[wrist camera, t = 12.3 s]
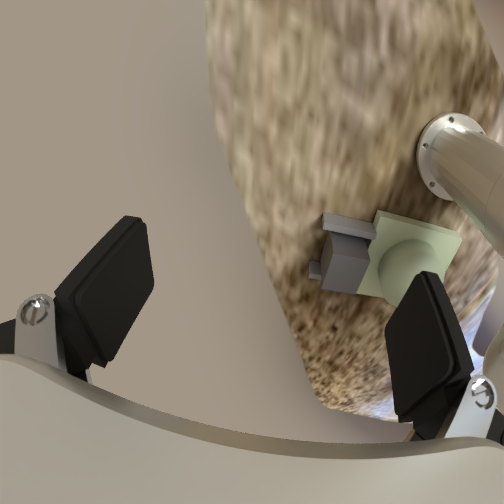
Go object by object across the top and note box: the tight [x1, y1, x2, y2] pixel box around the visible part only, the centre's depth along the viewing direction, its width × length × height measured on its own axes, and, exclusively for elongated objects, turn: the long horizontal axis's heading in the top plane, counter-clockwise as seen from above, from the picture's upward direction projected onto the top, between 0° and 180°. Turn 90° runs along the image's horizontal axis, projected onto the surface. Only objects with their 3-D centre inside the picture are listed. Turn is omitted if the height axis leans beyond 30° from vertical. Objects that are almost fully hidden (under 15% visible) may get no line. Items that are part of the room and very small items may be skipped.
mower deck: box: [308, 210, 463, 307], centre depth 38 cm, size 22×14×6 cm, turn 84°
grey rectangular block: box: [320, 231, 371, 295], centre depth 38 cm, size 5×6×7 cm
